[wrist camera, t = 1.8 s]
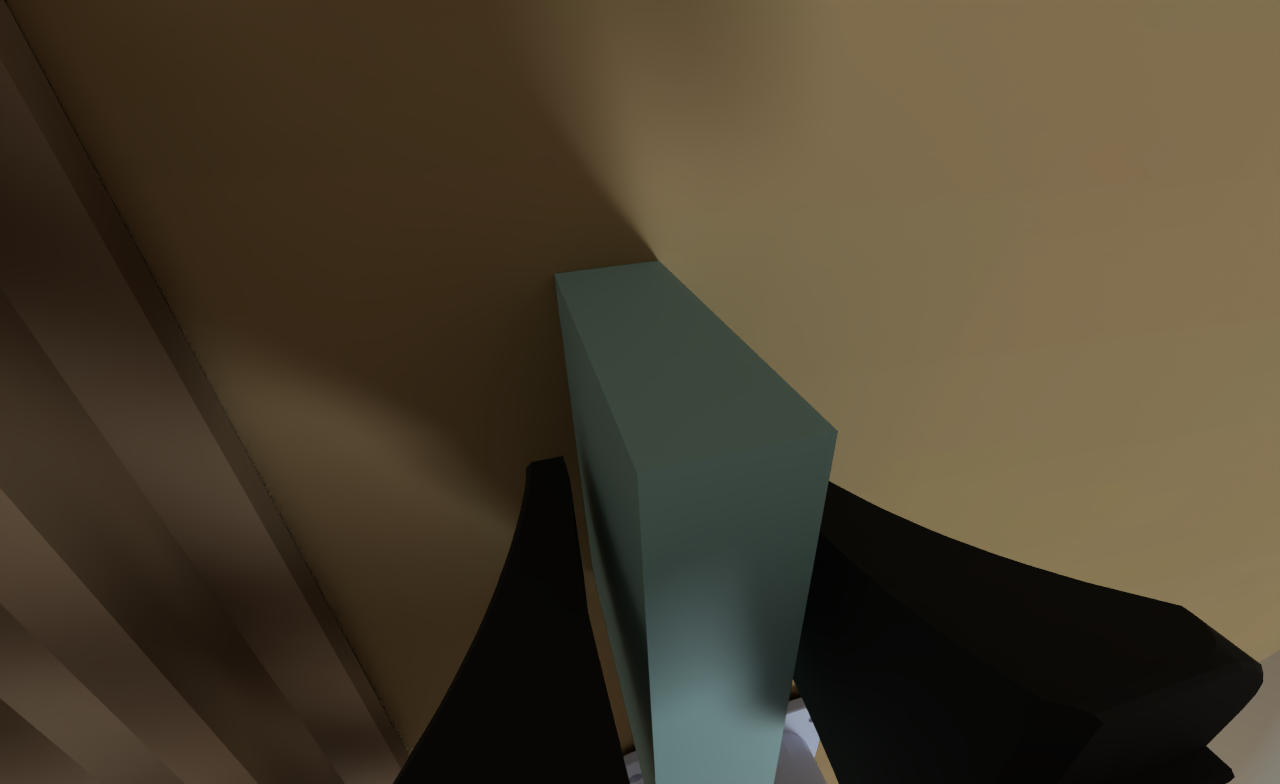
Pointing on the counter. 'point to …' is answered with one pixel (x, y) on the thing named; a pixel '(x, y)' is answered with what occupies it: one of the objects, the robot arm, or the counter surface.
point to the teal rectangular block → (692, 518)
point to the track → (140, 519)
